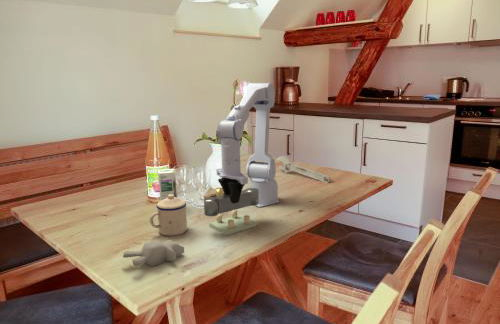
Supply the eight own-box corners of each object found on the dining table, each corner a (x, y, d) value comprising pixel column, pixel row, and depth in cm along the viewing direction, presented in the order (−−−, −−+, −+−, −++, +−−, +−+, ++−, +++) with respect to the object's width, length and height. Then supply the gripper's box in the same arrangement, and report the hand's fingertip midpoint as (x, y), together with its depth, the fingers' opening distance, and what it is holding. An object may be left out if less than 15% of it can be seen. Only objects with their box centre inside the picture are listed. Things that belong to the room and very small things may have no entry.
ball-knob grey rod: (253, 200, 134) (253, 187, 133) (261, 203, 131) (261, 190, 130) (201, 213, 123) (201, 199, 122) (209, 217, 119) (208, 202, 118)
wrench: (327, 189, 174) (275, 170, 194) (329, 188, 175) (278, 170, 195) (329, 172, 171) (277, 154, 191) (332, 171, 173) (279, 154, 192)
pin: (221, 202, 151) (221, 187, 149) (224, 204, 148) (224, 189, 147) (215, 203, 149) (214, 188, 148) (217, 205, 147) (217, 190, 146)
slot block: (222, 199, 154) (222, 191, 154) (234, 204, 148) (233, 196, 148) (204, 203, 150) (204, 195, 149) (215, 209, 144) (215, 201, 143)
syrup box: (161, 212, 141) (158, 173, 138) (160, 207, 147) (157, 169, 143) (177, 210, 143) (175, 171, 139) (176, 205, 148) (173, 167, 145)
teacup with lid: (178, 222, 132) (176, 188, 129) (193, 230, 125) (191, 195, 122) (144, 232, 124) (141, 196, 122) (158, 241, 118) (155, 204, 115)
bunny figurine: (190, 244, 106) (137, 256, 96) (189, 263, 107) (136, 276, 97) (171, 234, 113) (120, 243, 103) (171, 251, 114) (120, 262, 104)
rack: (240, 217, 135) (239, 207, 134) (256, 225, 128) (256, 215, 127) (209, 226, 128) (209, 215, 127) (225, 235, 121) (224, 224, 120)
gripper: (207, 157, 126) (209, 198, 129) (233, 165, 115) (234, 210, 118) (226, 154, 130) (227, 193, 134) (253, 161, 119) (253, 205, 122)
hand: (232, 201), depth 126 cm, fingers closed on ball-knob grey rod, 3 cm apart
